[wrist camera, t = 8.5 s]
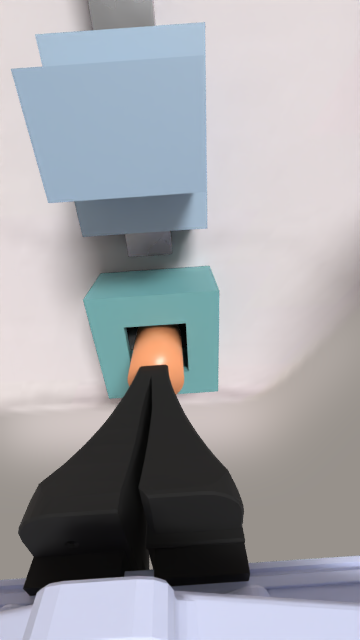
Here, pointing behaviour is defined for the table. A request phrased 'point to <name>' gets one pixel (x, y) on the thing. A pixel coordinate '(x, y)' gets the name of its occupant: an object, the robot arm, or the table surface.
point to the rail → (127, 12)
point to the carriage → (121, 126)
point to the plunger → (159, 352)
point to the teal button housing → (156, 321)
